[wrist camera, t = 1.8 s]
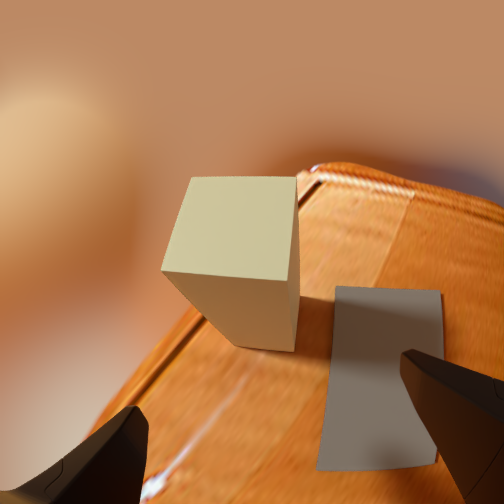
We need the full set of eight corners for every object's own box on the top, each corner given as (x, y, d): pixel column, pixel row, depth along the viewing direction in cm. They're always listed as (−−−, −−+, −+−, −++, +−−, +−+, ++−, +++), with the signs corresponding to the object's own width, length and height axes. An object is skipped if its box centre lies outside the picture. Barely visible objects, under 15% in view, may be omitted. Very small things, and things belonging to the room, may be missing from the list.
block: (293, 352, 20) (286, 280, 9) (234, 345, 21) (160, 270, 10) (300, 295, 23) (296, 177, 11) (243, 291, 24) (192, 177, 12)
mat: (431, 462, 14) (434, 463, 13) (315, 468, 16) (316, 470, 15) (437, 293, 21) (440, 290, 20) (335, 288, 22) (336, 285, 22)
